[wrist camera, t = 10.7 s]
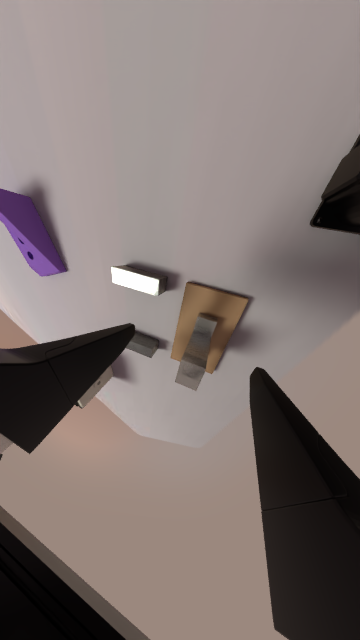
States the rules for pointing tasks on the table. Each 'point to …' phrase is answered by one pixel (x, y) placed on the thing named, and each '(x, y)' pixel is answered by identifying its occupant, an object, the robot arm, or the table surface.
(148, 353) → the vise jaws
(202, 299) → the walnut pad
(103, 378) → the hinge
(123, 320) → the table surface
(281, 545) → the robot arm
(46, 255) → the bracket
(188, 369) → the grey flared bar
